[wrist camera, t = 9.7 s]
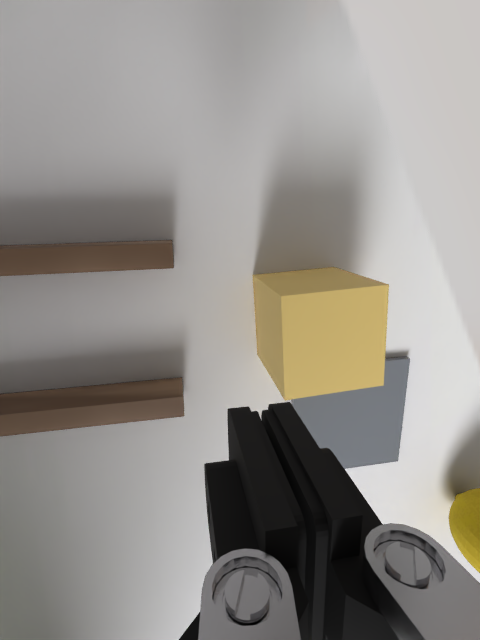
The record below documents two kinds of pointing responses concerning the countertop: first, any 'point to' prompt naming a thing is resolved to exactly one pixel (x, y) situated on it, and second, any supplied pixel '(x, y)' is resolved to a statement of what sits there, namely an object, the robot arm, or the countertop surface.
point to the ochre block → (321, 330)
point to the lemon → (467, 525)
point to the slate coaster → (360, 418)
